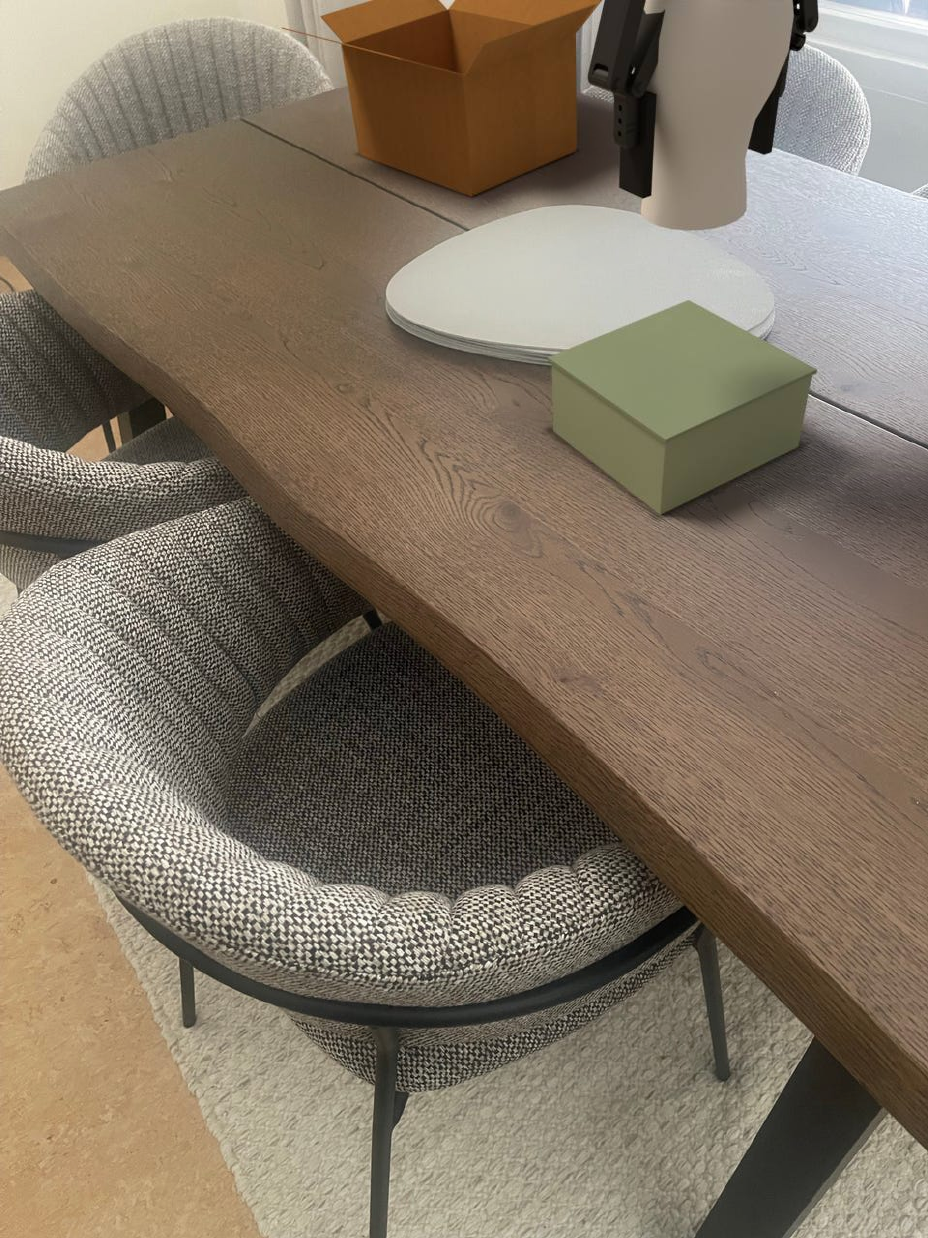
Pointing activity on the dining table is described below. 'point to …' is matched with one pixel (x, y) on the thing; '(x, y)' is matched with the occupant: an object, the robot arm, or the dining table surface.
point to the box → (462, 85)
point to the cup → (710, 104)
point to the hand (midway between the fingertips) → (696, 169)
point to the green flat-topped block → (678, 403)
